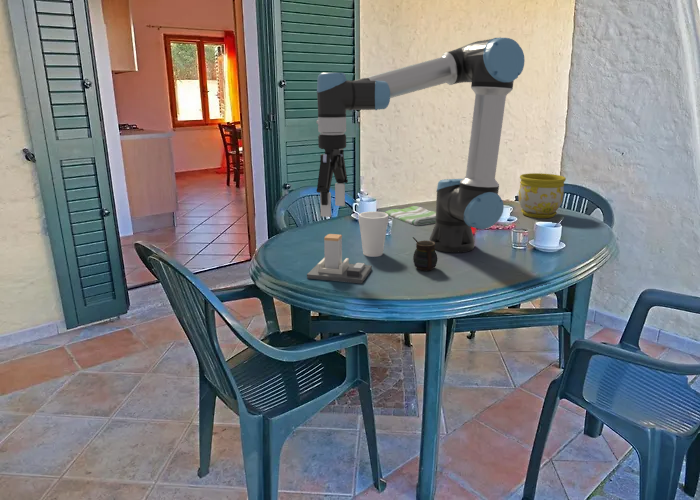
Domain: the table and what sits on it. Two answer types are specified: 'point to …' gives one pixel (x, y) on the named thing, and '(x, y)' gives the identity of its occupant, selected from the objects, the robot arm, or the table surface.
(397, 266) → the table surface
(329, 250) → the plug
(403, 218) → the dish towel
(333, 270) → the board
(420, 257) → the mate gourd
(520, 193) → the flowerpot
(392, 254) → the table surface
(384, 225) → the foam cup
